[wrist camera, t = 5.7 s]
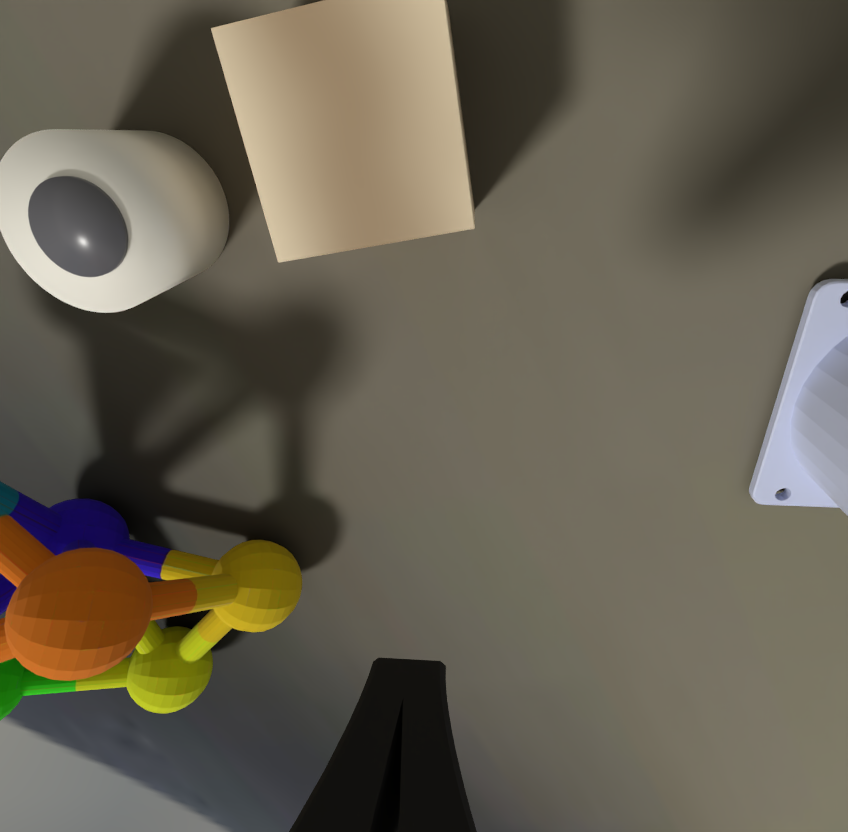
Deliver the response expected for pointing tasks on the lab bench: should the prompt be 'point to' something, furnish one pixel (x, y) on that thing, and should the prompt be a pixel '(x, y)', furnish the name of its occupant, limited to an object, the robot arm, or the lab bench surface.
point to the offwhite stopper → (110, 214)
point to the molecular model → (122, 604)
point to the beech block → (351, 122)
